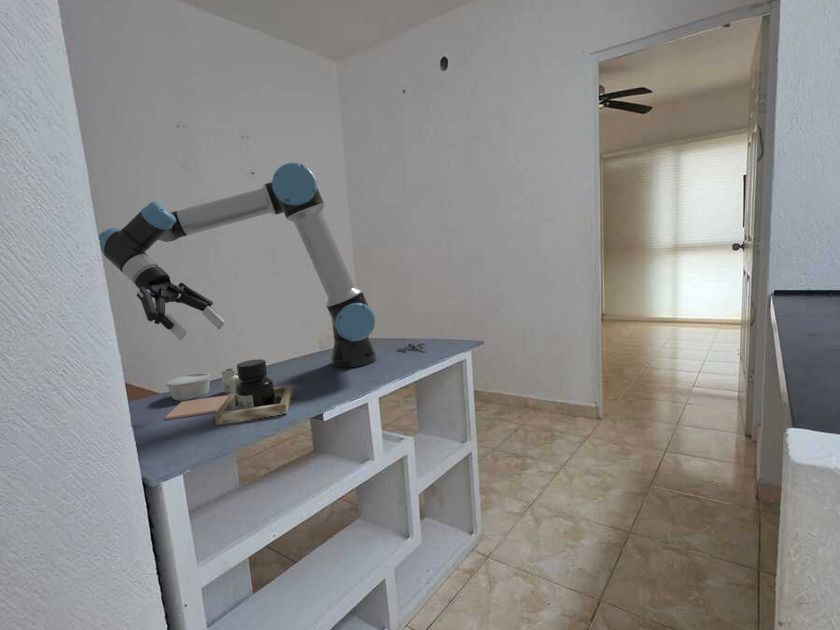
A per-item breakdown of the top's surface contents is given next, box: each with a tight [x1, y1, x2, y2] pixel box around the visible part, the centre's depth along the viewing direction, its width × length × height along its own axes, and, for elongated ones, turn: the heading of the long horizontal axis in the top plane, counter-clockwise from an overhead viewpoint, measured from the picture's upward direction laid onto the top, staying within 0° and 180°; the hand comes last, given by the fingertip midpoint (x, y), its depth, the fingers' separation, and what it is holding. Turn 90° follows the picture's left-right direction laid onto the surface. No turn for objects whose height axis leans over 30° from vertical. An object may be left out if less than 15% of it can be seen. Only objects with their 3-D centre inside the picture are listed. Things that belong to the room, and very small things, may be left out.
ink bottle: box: [235, 358, 277, 410], centre depth 109 cm, size 10×9×12 cm
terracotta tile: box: [164, 395, 229, 421], centre depth 115 cm, size 12×12×1 cm
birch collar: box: [214, 384, 294, 426], centre depth 110 cm, size 16×16×2 cm
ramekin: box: [166, 372, 211, 402], centre depth 126 cm, size 11×11×5 cm
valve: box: [221, 367, 241, 394], centre depth 130 cm, size 7×7×12 cm
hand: (203, 330), depth 112 cm, fingers open, 13 cm apart
